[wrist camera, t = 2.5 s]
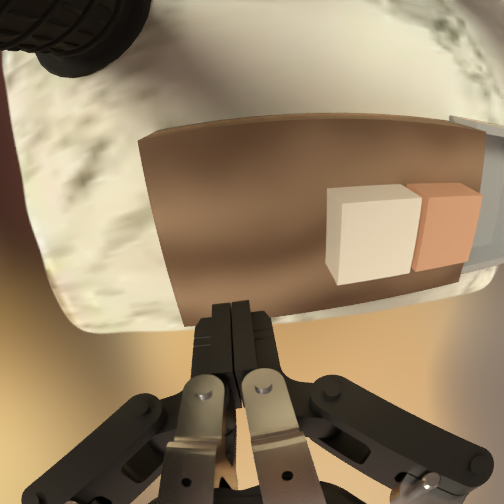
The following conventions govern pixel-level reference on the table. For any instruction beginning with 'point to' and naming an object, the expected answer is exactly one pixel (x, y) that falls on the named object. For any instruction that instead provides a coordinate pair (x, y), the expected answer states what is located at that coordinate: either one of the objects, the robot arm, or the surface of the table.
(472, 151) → the walnut platform
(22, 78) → the table surface
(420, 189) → the terracotta tile
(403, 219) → the cream tile
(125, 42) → the handle grip
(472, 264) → the box
